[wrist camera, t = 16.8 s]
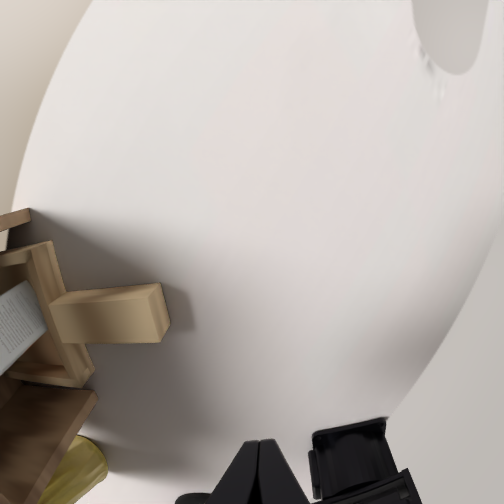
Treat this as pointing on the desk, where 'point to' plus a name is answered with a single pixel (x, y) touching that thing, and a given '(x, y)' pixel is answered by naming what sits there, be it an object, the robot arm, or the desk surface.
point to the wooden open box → (35, 424)
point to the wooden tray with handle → (77, 317)
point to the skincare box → (19, 323)
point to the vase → (75, 473)
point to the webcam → (192, 498)
